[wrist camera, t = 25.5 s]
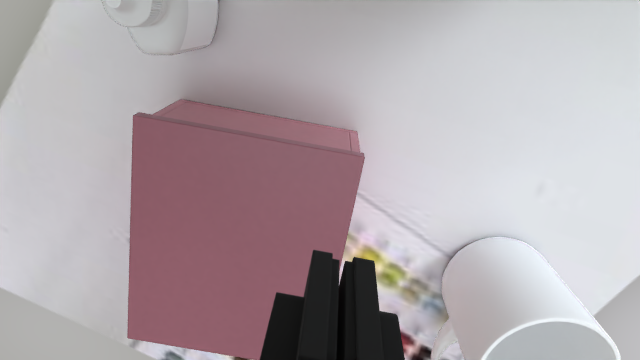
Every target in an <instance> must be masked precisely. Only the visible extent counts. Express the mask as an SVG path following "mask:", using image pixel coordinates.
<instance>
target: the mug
mask: <svg viewBox="0 0 640 360" xmlns="http://www.w3.org/2000/svg"><path fill="white" fill-rule="evenodd" d="M442 296H443V300H444V303H445V306H446V310H447V313H448V315H449V319H448V320H447V321H446V322H445V324H444V325H443V326H442V328H441V329H440V331H439V332H438V334H437V336H436V339H435V341H434V344H433V348H432V353H431V360H439V358H440V357H441V355H442V353H443V352H444V351H445V350H446V348H447V347H449V346H450V345H451V344H453V343H455V342H458V343H459V346H460V349H461V351H462V354H463V357H464V359H465V360H621V357H620V354H619V351H618V348H617V346H616V345H615V343H614V341H613V340H612V339H611V338H610V336H609V335H608V334H607V333H606V332H605V330H604V329H603V328H602V327H601V325H600V324H599V323H598V322H597V321H596V319H595V318H594V317H593V316H592V315H591V313H590V312H589V311H588V310H587V309H586V307H585V306H584V305H583V304H582V303H581V301H580V300H579V299H578V298H577V297H576V295H575V294H574V293H573V292H572V291H571V289H570V288H569V287H568V286H567V285H566V283H565V282H564V281H563V280H562V279H561V277H560V276H559V275H558V274H557V273H556V272H555V270H554V269H553V268H552V267H551V266H550V264H549V263H548V262H547V261H546V260H545V258H544V257H543V256H542V255H541V254H540V253H539V252H538V251H537V250H535V249H534V248H533V247H531V246H530V245H528V244H526V243H524V242H522V241H520V240H517V239H513V238H508V237H490V238H484V239H481V240H478V241H475V242H473V243H471V244H469V245H467V246H465V247H464V248H462V249H461V250H460V251H459V252H458V253H456V254H455V256H454V257H453V258H452V259H451V261H450V262H449V263H448V265H447V267H446V269H445V271H444V274H443V278H442Z"/></svg>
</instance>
